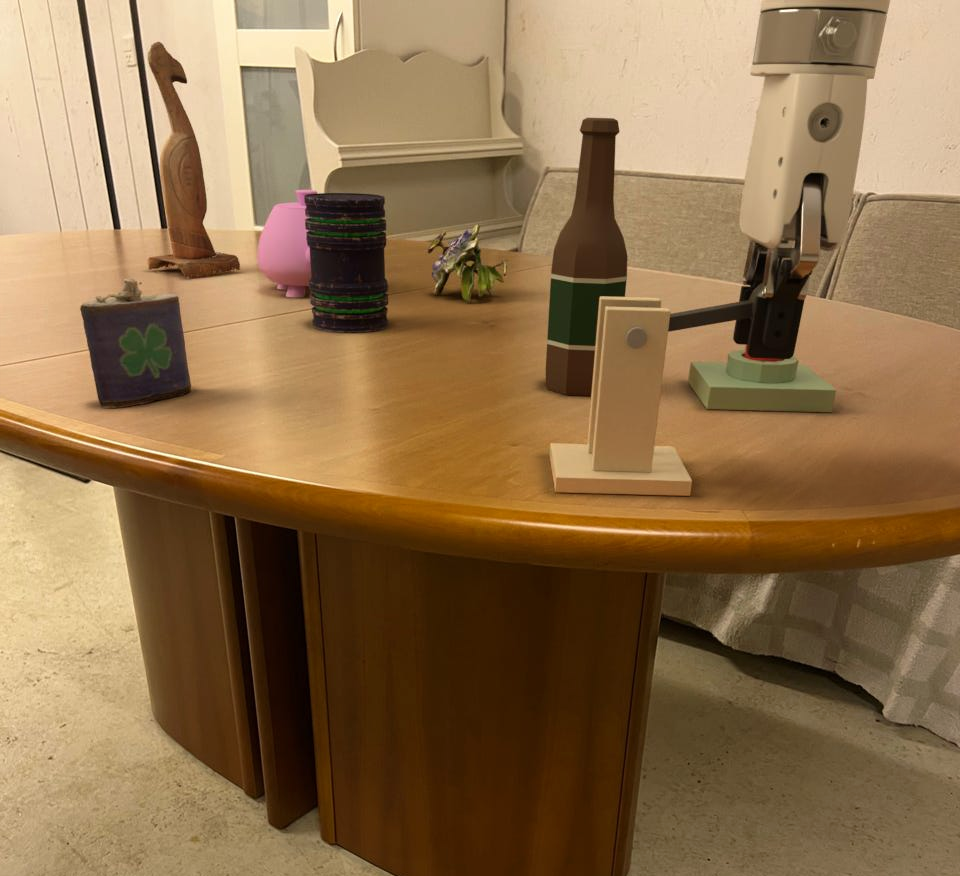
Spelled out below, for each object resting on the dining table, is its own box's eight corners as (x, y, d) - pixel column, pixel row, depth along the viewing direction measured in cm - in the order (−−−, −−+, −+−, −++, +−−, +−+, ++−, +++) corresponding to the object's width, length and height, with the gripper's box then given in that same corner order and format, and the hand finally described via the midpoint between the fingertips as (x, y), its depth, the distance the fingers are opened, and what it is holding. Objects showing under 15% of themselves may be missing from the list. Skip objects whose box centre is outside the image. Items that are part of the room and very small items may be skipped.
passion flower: (440, 332, 142) (419, 258, 142) (507, 316, 143) (487, 243, 144) (444, 299, 131) (422, 219, 131) (518, 283, 132) (495, 204, 132)
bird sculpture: (244, 271, 154) (222, 43, 138) (186, 279, 146) (155, 38, 130) (202, 264, 160) (177, 45, 144) (144, 271, 152) (109, 39, 136)
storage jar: (381, 316, 124) (377, 192, 117) (396, 331, 116) (393, 199, 109) (306, 318, 122) (297, 192, 114) (317, 334, 113) (308, 199, 106)
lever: (790, 320, 67) (790, 271, 66) (804, 330, 64) (804, 279, 63) (611, 351, 69) (606, 303, 67) (616, 362, 66) (612, 312, 64)
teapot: (384, 302, 133) (381, 196, 126) (276, 307, 128) (267, 197, 121) (346, 278, 150) (342, 184, 143) (249, 282, 145) (240, 185, 138)
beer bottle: (530, 379, 97) (544, 116, 85) (598, 375, 99) (620, 118, 87) (559, 399, 90) (577, 117, 78) (630, 394, 92) (659, 119, 81)
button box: (801, 385, 97) (809, 346, 95) (831, 412, 88) (840, 370, 86) (687, 382, 97) (692, 343, 95) (706, 409, 88) (712, 367, 86)
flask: (183, 386, 91) (167, 271, 86) (199, 393, 89) (184, 275, 84) (93, 404, 85) (70, 281, 80) (108, 411, 84) (85, 286, 78)
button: (776, 356, 93) (779, 338, 92) (785, 365, 89) (789, 346, 89) (740, 355, 93) (743, 337, 92) (748, 364, 89) (751, 345, 89)
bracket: (672, 460, 75) (694, 295, 69) (690, 496, 68) (716, 315, 62) (549, 457, 75) (559, 291, 69) (555, 492, 68) (567, 312, 62)
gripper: (929, 44, 51) (851, 381, 60) (833, 59, 65) (782, 329, 74) (793, 39, 51) (735, 377, 60) (727, 54, 65) (689, 325, 74)
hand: (762, 347), depth 67 cm, fingers closed on lever, 3 cm apart
